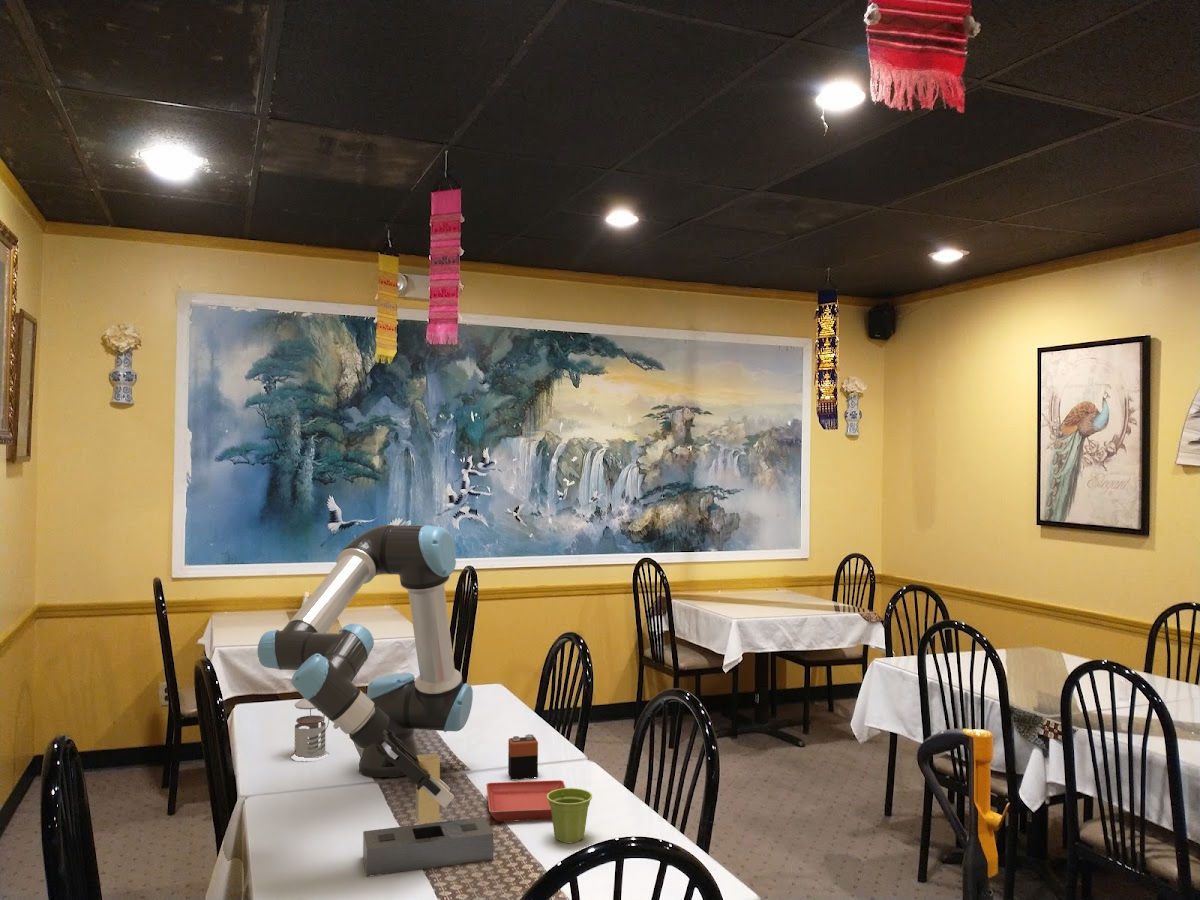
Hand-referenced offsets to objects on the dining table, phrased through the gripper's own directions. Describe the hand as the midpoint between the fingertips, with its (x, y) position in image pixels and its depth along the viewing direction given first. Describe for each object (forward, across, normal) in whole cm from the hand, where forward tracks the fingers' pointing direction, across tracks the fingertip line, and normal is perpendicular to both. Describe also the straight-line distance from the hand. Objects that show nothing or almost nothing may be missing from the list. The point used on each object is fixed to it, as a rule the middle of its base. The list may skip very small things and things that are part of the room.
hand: (447, 797), depth 181 cm
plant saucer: (+24, -20, +7) cm, 32 cm away
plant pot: (+26, -1, +10) cm, 28 cm away
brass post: (0, 0, -5) cm, 5 cm away
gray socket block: (+6, 0, -11) cm, 12 cm away
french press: (-8, -74, -25) cm, 78 cm away
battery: (+26, -40, +10) cm, 49 cm away
